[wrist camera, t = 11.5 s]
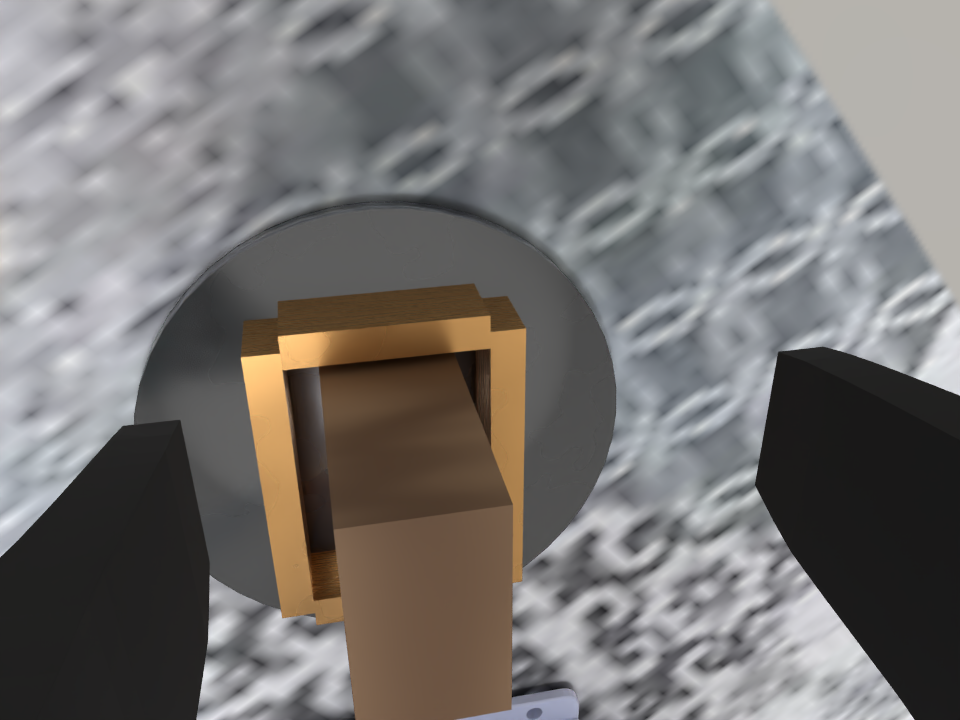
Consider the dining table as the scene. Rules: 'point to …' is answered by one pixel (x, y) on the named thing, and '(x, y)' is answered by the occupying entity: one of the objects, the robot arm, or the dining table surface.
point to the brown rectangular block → (418, 540)
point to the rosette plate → (360, 338)
